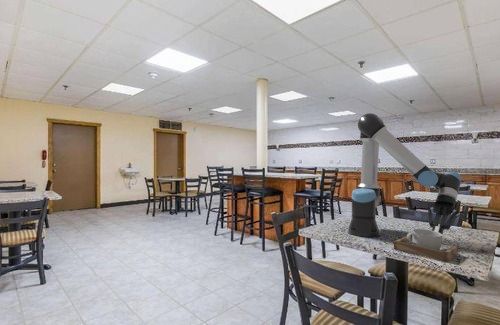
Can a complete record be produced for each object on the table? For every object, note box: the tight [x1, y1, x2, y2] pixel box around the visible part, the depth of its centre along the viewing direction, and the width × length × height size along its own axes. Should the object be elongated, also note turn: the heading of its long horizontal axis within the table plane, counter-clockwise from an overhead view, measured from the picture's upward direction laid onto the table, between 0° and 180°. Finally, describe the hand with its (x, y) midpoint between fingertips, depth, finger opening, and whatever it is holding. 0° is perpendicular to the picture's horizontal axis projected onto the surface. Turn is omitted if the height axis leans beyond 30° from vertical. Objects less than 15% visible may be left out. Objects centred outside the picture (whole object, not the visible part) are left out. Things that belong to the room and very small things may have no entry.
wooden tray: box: [393, 235, 459, 263], centre depth 112 cm, size 13×19×4 cm
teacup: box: [406, 228, 443, 251], centre depth 115 cm, size 14×11×8 cm
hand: (434, 240), depth 118 cm, fingers closed
